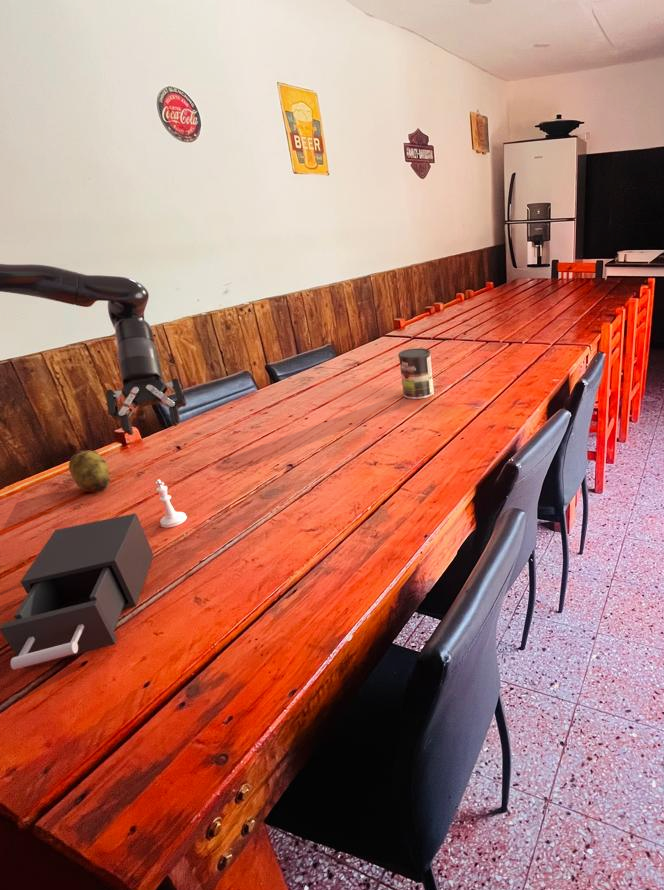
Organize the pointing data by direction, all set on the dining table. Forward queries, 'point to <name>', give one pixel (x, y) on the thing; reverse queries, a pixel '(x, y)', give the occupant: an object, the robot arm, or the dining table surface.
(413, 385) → the coffee can
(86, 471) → the potato
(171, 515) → the chess piece
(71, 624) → the dark grey drawer
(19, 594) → the dining table surface
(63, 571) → the small drawer cabinet
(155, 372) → the robot arm
